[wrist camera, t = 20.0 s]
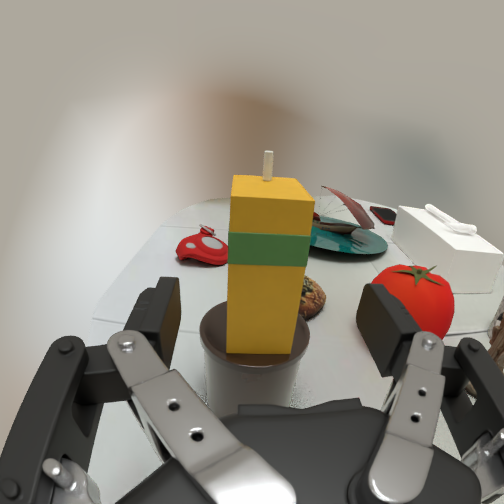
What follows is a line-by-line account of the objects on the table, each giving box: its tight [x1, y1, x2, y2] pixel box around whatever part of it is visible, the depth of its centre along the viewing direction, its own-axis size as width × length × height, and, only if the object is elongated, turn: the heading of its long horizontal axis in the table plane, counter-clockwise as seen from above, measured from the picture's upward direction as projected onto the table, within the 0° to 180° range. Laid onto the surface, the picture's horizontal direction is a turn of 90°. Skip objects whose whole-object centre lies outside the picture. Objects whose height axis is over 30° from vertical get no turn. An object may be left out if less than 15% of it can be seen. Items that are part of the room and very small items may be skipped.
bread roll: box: [298, 275, 326, 320], centre depth 42 cm, size 11×11×5 cm
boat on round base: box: [310, 186, 388, 254], centre depth 66 cm, size 28×28×11 cm
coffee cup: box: [199, 301, 310, 418], centre depth 26 cm, size 10×9×9 cm
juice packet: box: [226, 151, 315, 354], centre depth 20 cm, size 5×6×13 cm
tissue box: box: [391, 204, 504, 293], centre depth 55 cm, size 14×25×11 cm, turn 179°
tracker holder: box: [176, 224, 228, 265], centre depth 54 cm, size 12×4×10 cm
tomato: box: [371, 264, 454, 340], centre depth 33 cm, size 12×12×10 cm
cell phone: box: [370, 206, 397, 225], centre depth 85 cm, size 8×15×1 cm, turn 176°
